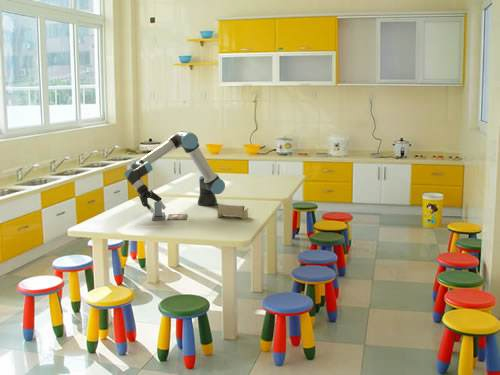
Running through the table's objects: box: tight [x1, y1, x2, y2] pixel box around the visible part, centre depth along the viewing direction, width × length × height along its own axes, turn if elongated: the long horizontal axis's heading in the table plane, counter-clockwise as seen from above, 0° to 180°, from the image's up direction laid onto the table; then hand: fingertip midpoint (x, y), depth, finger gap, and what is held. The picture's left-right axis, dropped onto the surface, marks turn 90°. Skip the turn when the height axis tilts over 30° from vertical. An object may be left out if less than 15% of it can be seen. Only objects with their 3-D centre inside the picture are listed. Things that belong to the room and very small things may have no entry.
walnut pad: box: [166, 213, 188, 221], centre depth 456 cm, size 13×16×1 cm
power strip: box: [151, 211, 166, 222], centre depth 456 cm, size 18×8×4 cm, turn 5°
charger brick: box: [153, 201, 163, 217], centre depth 452 cm, size 5×5×12 cm
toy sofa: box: [216, 203, 249, 221], centre depth 456 cm, size 21×9×10 cm, turn 73°
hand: (159, 210), depth 450 cm, fingers open, 13 cm apart
